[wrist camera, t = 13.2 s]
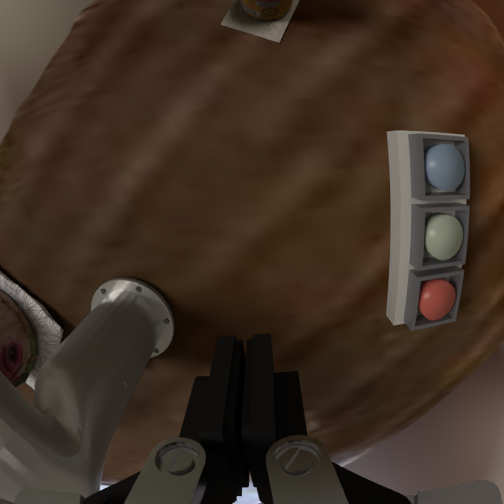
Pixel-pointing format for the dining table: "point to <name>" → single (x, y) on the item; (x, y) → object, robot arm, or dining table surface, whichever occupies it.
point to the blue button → (443, 167)
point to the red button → (436, 298)
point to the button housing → (421, 225)
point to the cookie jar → (24, 334)
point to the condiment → (261, 17)
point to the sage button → (442, 236)
